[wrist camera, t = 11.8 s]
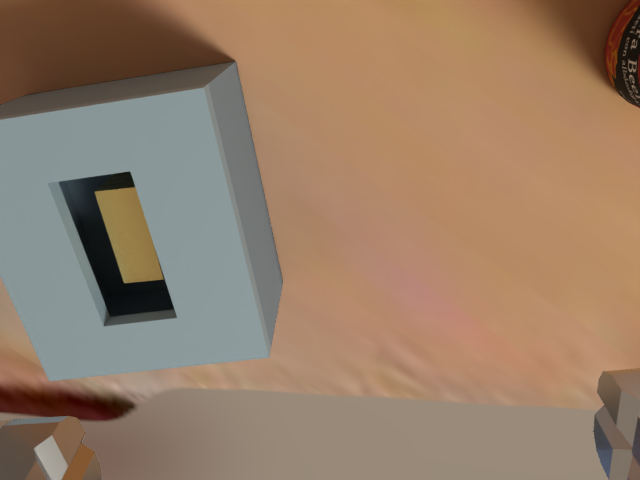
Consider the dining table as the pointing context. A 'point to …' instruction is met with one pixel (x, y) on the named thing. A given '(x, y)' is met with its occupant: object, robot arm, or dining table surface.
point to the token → (128, 229)
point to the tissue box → (161, 216)
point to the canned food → (625, 53)
